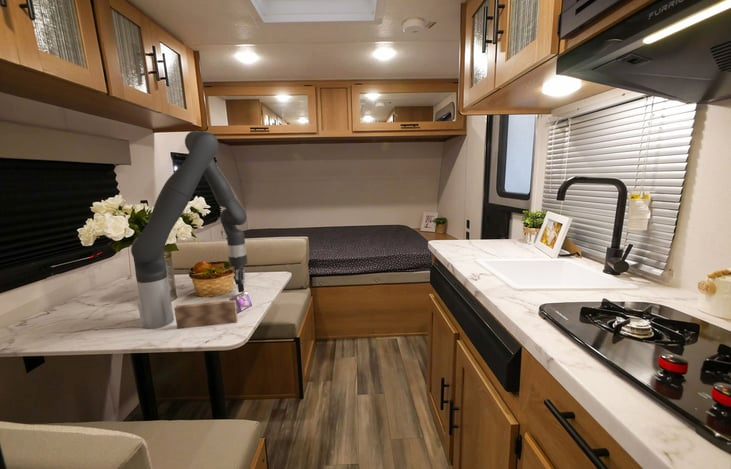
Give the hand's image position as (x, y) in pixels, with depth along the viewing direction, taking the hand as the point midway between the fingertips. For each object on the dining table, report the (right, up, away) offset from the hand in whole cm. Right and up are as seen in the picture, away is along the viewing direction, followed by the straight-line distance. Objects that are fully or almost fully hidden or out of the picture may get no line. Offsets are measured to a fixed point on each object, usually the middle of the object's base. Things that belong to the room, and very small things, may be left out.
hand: (241, 291), depth 139 cm
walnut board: (-2, -7, -25) cm, 26 cm away
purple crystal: (+4, -5, -12) cm, 14 cm away
